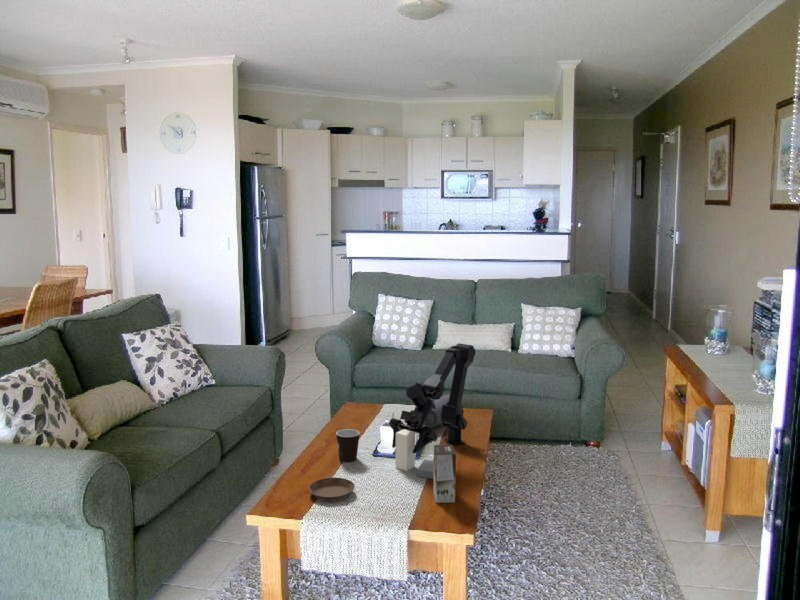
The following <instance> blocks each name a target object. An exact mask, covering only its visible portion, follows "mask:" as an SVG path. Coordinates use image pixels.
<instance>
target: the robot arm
mask: <svg viewBox="0 0 800 600" xmlns="http://www.w3.org/2000/svg"><path fill="white" fill-rule="evenodd" d="M475 356H476V349H475V347H474V345H472V344H464V343H460V342H459V343H457V344H456V345H452V346H450V347H447V348H446V349H445V353H444V356H443V357H442V359H441V361H440V362H439V364H438V366H437V368H436V370H435V371H434V373H433V374H432V376H430V377H428V378H427V379H426V380H425V381H424V383H423V384H421V382H415V384H414V385H411V386H410V387H408V388H407V390H406V394H405V395H406V397H407V398H408V400H409V401H410V402H411V404H412V405H413V406H415V407H414V409H413V410H412V409H411V410H410V411H407V410H403V409H402V410H401V414H400V417H399V419H397V418H391V419H390V420H389V422H388V426H390V428H391V429H392V431H393V436H392V437H393V438H392V445H391V447H392V449H396V432H399V431H401V430H403V429H405V430H409V431H413V432H415V434H418V439H417V440H416V442H415V447H414V449H413V454H415V455H416V453H417V452H420V450H421V449H423V448H424V447H426V446H427V445H428V444H432V443H433V442H434V443H436V442H437V440H438V438H439V435H438V433H437V431H435V429H434V427H427V426H424V424H425V422H426V423H428V421H429V420H428V419H427V418H428V416H429V414H430V412H431V410H432V409H436V407H435V404H434V402H433V401H432V400H437V399H440V398H441V397H442V396H444V392H445V383H446V380H447V378H448V377H449V375H450V373H451V372H452V369H453V368H454V371H453V376H452V380H451V381H452V382H451V388H450V393H449V395H450V397H449V401H448V402H447V404H446V405H443V406H442V412H441V421H442V424H441V425H442V427H447V429H446V430H447V431H446V436H447V437H445V438H443V440H444V441H445V442H446V443H447V445H452V446H453V445H460V444H465V441H464V440H463V439H462V435H463V433H462V432H463V431H462V430H466V428H467V426H468V421H467V419H466V418H465V417H464V408H463V406H462V401H463V395H464V390H465V384H466V378H467V373H468V368H469V367H470V365H471V364H473V362H474V360H475ZM454 365H455V366H454ZM403 420H404V422H403ZM404 423H405V424H404Z"/></svg>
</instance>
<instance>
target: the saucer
mask: <svg viewBox="0 0 800 600" xmlns="http://www.w3.org/2000/svg"><path fill="white" fill-rule="evenodd" d="M355 487H356V486H355V483H354V482H353V481H352V480H350V479H347V478H342V477H326V478H321V479H318V480H316V481H314V482H312V483H311V484H310V485H309V488H308V490H309V492H310V493H311V494H312V496H314V497H315V498H316V499H318V500H320V501H325V502H335V501H336V502H337V501H340V500H341V501H342V500H344V499H346V498H347V497H349V496H350V495H351V493H353V491H354V489H355Z"/></svg>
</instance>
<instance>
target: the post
mask: <svg viewBox="0 0 800 600" xmlns="http://www.w3.org/2000/svg"><path fill="white" fill-rule="evenodd" d="M415 445H416V433H415V432H413V431H409V430H405V429H403V430H401V431H399V432H396V447H395V462H394V463H395V469H399V470H403V471H405V472H408V471H410V470H411V469H413V468H415V467H416V453H415V454H413V449H414V447H415Z"/></svg>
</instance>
